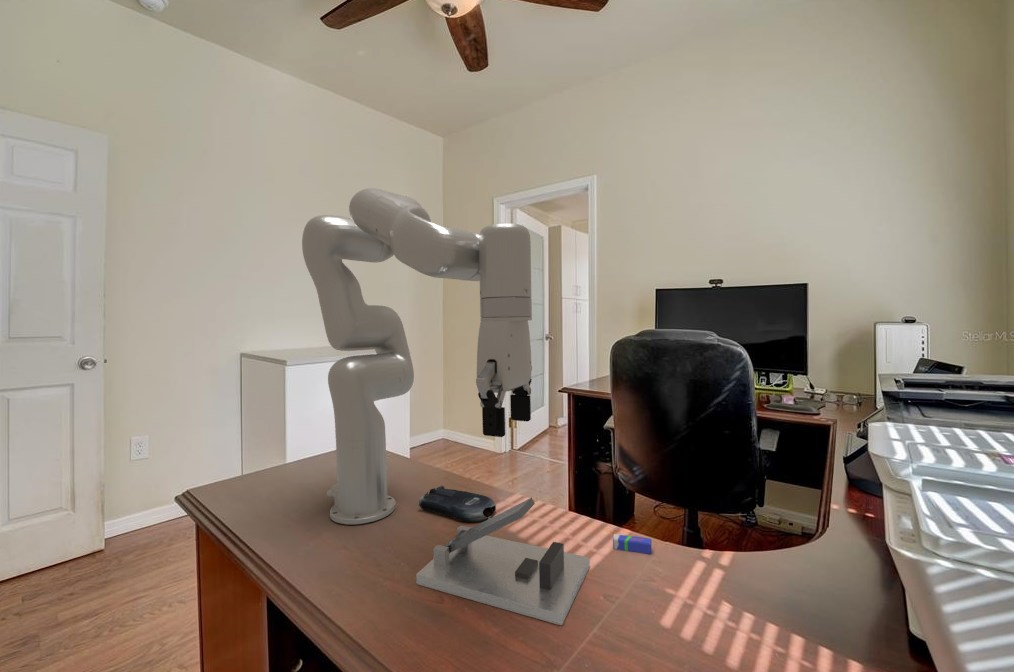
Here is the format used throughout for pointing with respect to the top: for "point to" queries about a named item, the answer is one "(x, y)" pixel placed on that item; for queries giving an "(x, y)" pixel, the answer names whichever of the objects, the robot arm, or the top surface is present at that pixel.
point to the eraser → (632, 543)
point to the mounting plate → (509, 576)
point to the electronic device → (457, 504)
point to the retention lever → (490, 525)
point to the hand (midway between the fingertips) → (508, 427)
